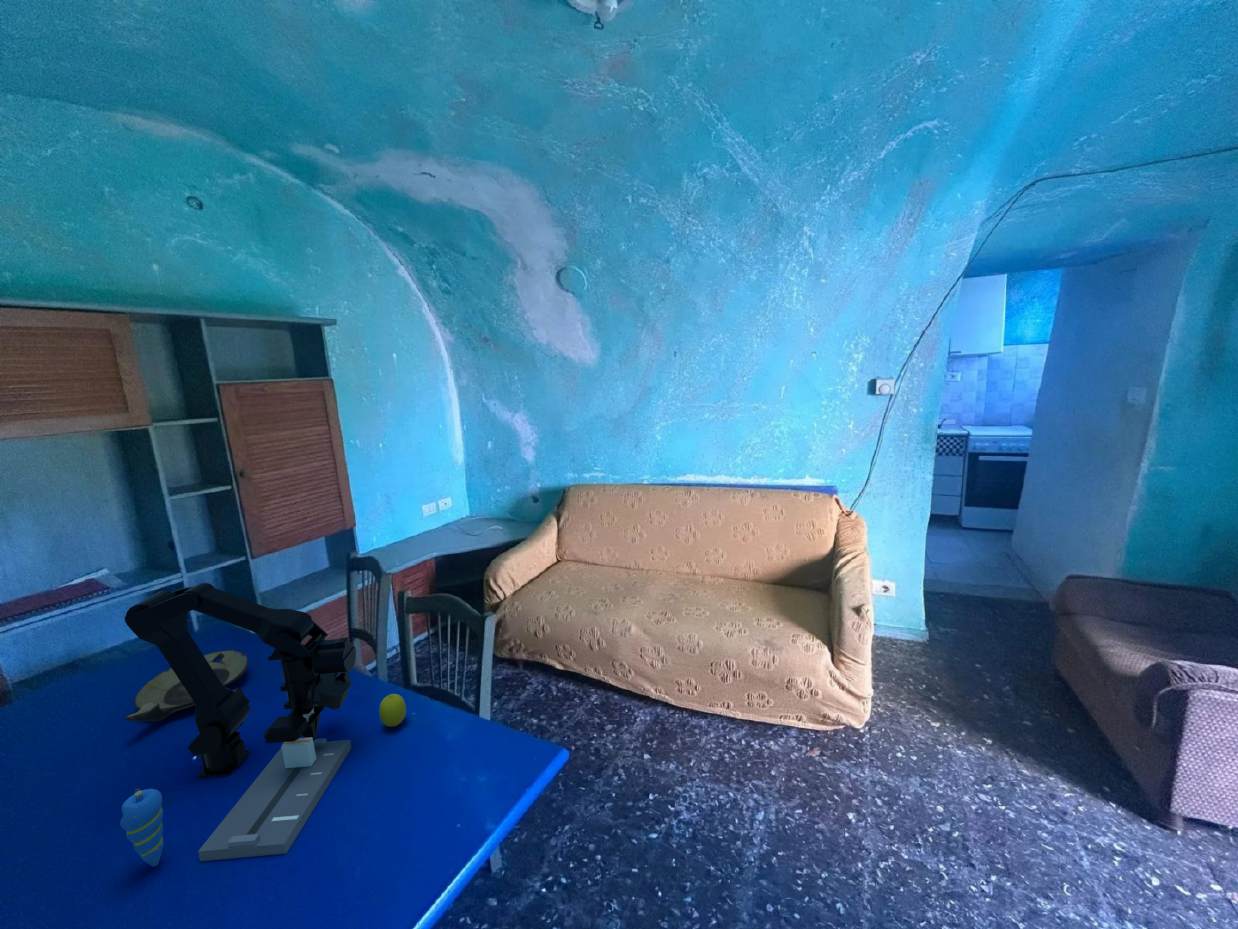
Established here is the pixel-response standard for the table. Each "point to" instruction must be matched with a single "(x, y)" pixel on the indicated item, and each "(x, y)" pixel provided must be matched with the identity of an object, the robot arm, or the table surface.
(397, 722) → the lemon
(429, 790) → the table surface
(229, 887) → the table surface
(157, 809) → the ornament
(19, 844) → the table surface
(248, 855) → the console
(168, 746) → the table surface
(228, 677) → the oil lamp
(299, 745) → the fader tab
